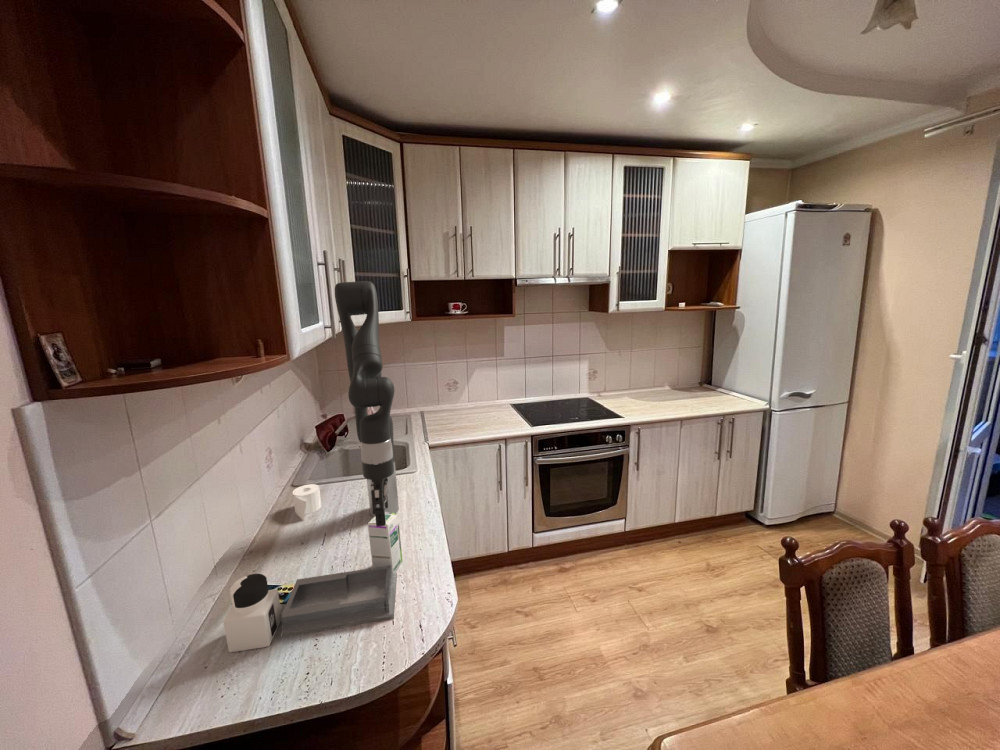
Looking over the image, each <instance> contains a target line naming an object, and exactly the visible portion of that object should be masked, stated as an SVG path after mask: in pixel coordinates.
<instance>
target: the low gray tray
mask: <svg viewBox="0 0 1000 750" xmlns="http://www.w3.org/2000/svg"><path fill="white" fill-rule="evenodd" d="M397 573H398V572H395V573H392V566H391V565H389V566H383V567H376V568H373V567H370V568H364V569H358V570H352V571H344V572H338V573H332V574H331V573H330V574H325V575H324V574H323V575H318V576H312V577H305V578H299V579H296V581H295V584H294V586H293V588H292V591H291V593H290V595H289V597H288V600H287V603H286V605H285V607H284V610H283V611H282V613H281V614H282V616H281V622H280V623H281V628H282V631H281V638H283V639H284V638H288V637H294V636H298V635H304V634H310V633H311V634H312V633H317V632H320V631H321V632H322V631H326V630H333V629H338V628H339V629H340V628H345V627H350V626H355V625H357V626H358V625H362V624H367V623H372V622H379V621H384V620H385V621H386V620H390V619H394V618H395V611H396V610H395V609H396V595H397V579H398V574H397Z"/></svg>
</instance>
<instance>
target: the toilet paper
mask: <svg viewBox="0 0 1000 750" xmlns="http://www.w3.org/2000/svg"><path fill="white" fill-rule="evenodd" d="M320 491H321V490H320V485H318V484H314V483H312V484H311V483H310V484H309V483H308V484H305V485H300V486H298V487H296V488H295V489H294V490H293V491H292V497H293V499H292V501H293V504H294V505H293V507H294V512H295V514H296V515H297V516H298V517H299V518H300V519H301V520H302V521H303V522H305V517H306V515H310V514H313V513H315V511H316V512H317V511H318V510H320V509H321V508H322V499H321V492H320Z"/></svg>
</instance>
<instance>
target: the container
mask: <svg viewBox="0 0 1000 750" xmlns="http://www.w3.org/2000/svg"><path fill="white" fill-rule="evenodd" d="M229 595H230V600H231V608H230V609H229V610H228V612H227V614H226V615H225V618H224V619H223V626H224V627H223V628H224V633H225V638H226V644H227V648H228V650H227V651H228V652H229V653H235V652H242V651H250V650H254V649H261V648H268V647H270V645H271V643H272V641H273V639H274V637H275V634H276V633H277V630H278V629H279V625H280V623H282V622H281V616H282V614H283V613H282V608H281V603H280V596H279V590H278V588H274V589H269V586H268V579H267V576H266V575H264V574H262V573H251V574H247V575H244V576H243V577H241V578H239V579H238V580H236V581H235V582H234V583H233V584H232V585H231V587H230V588H229Z"/></svg>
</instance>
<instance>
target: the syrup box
mask: <svg viewBox="0 0 1000 750" xmlns="http://www.w3.org/2000/svg"><path fill="white" fill-rule="evenodd" d="M385 520H386V524H385V525H384V526H376V517H372V518H371V519H370V521H368V523H367V529H368V531H367V532H368V539H369V547H370V555H371V563H372V564H371V565H372V568H376V567H383V566H389V565H391V566H392V573H396V572H397V570H398V568H400V566H401V564H402V563H403V562H404V561H403V554H402V543H401V533H400V523H399V522H400V521H399V514H398V512H396V513H392V512H385Z"/></svg>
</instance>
